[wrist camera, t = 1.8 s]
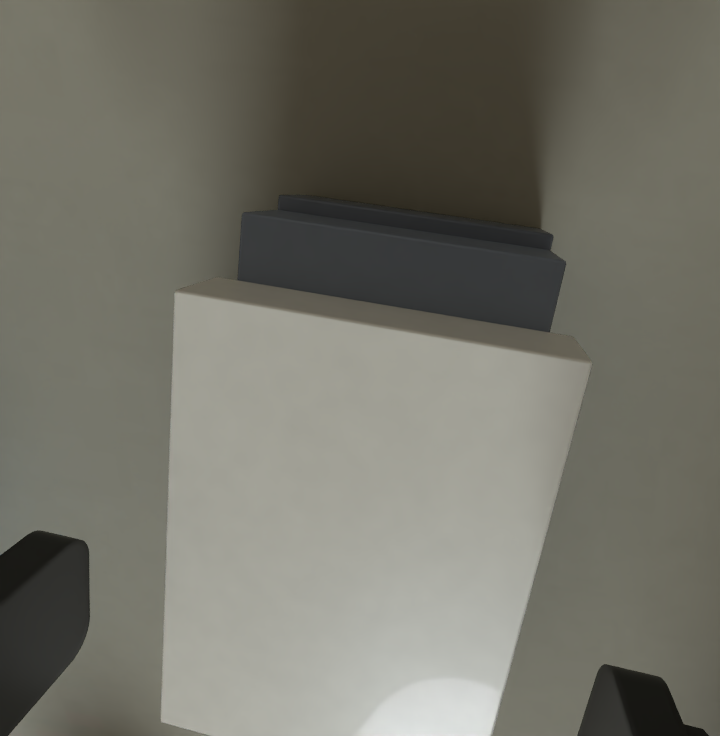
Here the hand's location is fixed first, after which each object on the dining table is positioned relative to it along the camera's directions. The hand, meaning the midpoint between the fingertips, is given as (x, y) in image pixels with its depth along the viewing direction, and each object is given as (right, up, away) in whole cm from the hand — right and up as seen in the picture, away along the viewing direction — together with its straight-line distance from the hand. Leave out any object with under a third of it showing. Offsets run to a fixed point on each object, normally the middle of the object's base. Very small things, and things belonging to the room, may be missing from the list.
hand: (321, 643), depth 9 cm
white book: (0, +1, +3) cm, 3 cm away
